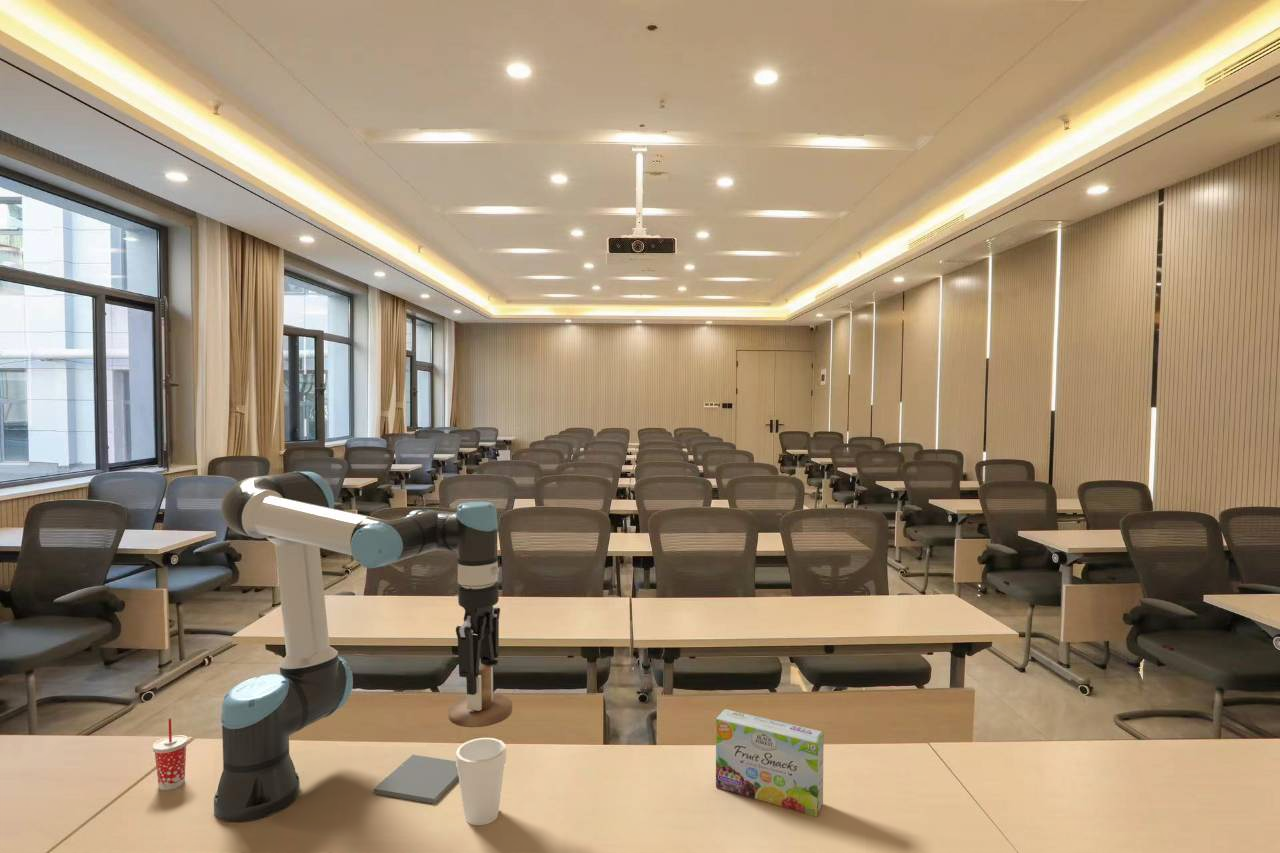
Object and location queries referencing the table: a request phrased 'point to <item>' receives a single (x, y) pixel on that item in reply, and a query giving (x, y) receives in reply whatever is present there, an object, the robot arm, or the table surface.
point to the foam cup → (481, 778)
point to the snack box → (770, 761)
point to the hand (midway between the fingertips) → (480, 703)
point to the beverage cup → (170, 760)
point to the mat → (420, 779)
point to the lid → (490, 710)
